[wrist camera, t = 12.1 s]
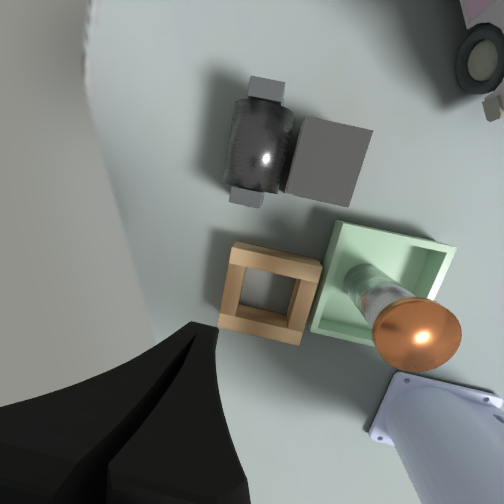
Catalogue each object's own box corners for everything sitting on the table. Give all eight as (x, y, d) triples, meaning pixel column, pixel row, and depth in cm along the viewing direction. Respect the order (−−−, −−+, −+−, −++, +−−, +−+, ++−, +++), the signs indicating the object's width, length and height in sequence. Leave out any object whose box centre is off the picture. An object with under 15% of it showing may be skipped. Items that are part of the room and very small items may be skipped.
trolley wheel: (296, 109, 17) (302, 85, 13) (274, 207, 19) (274, 211, 15) (242, 98, 17) (233, 72, 14) (225, 197, 19) (213, 198, 15)
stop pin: (396, 265, 19) (476, 314, 11) (378, 309, 20) (440, 380, 12) (347, 253, 19) (394, 294, 12) (332, 298, 20) (365, 361, 13)
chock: (351, 143, 18) (373, 130, 14) (333, 204, 19) (348, 207, 15) (298, 132, 18) (305, 115, 14) (283, 193, 19) (285, 193, 15)
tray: (436, 241, 19) (457, 247, 16) (395, 338, 21) (408, 355, 19) (335, 219, 19) (343, 223, 17) (306, 317, 21) (309, 331, 19)
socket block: (317, 259, 20) (322, 267, 18) (296, 330, 22) (299, 346, 20) (236, 241, 20) (231, 247, 18) (222, 313, 22) (216, 326, 20)
